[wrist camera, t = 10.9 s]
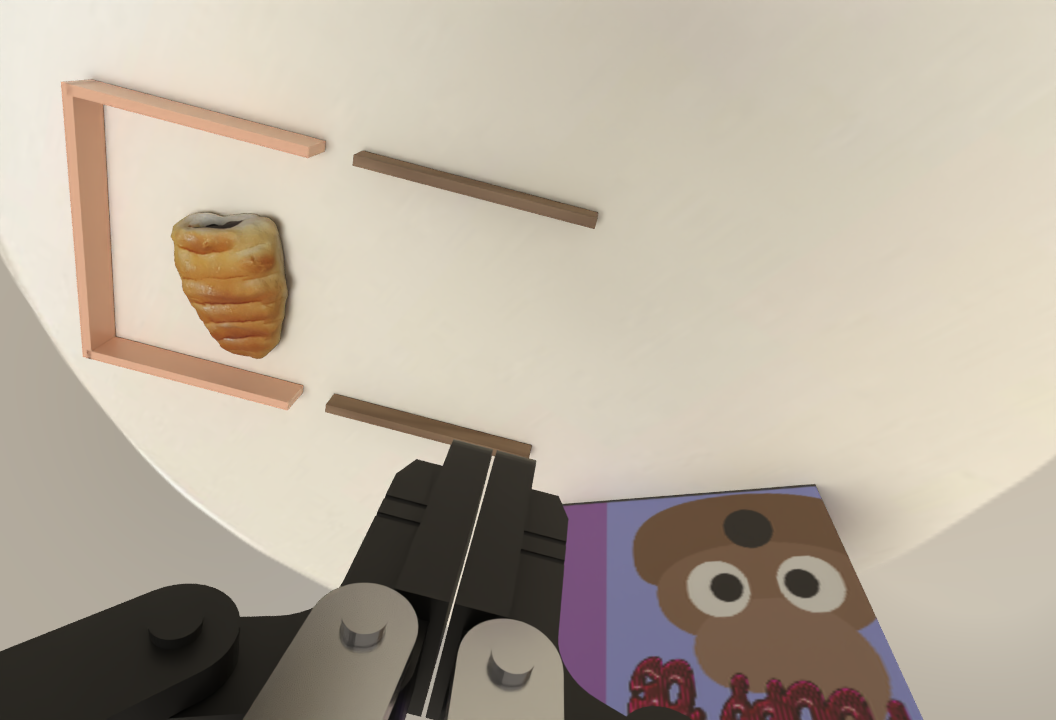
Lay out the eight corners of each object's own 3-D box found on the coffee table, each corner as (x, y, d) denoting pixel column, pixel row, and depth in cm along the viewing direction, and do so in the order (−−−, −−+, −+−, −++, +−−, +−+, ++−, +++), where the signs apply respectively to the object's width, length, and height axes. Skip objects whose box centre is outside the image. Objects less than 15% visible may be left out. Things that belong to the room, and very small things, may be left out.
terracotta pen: (91, 79, 38) (61, 81, 36) (325, 140, 38) (308, 147, 36) (107, 342, 46) (83, 356, 44) (302, 392, 46) (287, 410, 44)
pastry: (309, 348, 45) (284, 373, 41) (216, 347, 46) (183, 372, 42) (281, 208, 41) (250, 223, 37) (179, 210, 42) (139, 225, 38)
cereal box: (814, 484, 45) (1004, 896, 23) (815, 539, 47) (990, 967, 25) (558, 504, 48) (517, 885, 26) (569, 556, 50) (538, 949, 28)
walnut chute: (362, 150, 38) (353, 154, 37) (597, 212, 38) (597, 218, 37) (333, 401, 46) (325, 411, 45) (529, 452, 46) (527, 464, 45)
